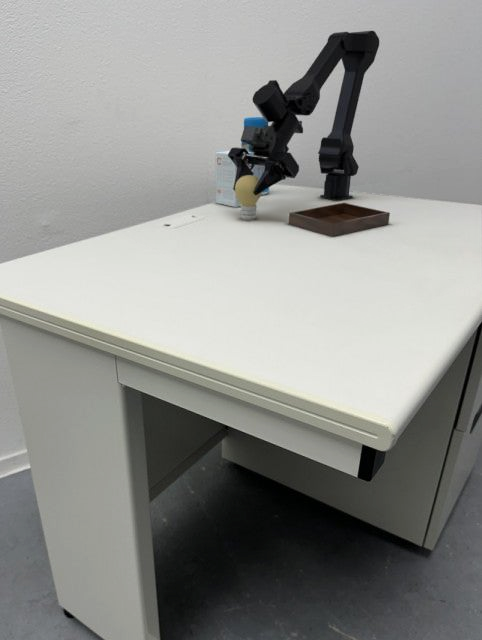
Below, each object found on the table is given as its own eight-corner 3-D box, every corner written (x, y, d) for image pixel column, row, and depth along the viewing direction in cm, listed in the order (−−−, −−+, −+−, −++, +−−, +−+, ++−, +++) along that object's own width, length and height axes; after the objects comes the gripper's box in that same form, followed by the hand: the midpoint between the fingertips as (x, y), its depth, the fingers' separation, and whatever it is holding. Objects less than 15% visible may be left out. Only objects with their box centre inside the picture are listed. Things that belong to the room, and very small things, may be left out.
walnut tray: (342, 213, 133) (343, 202, 132) (388, 224, 123) (390, 212, 121) (288, 224, 126) (288, 212, 124) (332, 236, 115) (333, 224, 114)
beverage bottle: (261, 197, 154) (262, 119, 144) (235, 194, 158) (235, 118, 149) (274, 191, 160) (276, 116, 151) (249, 189, 164) (249, 116, 155)
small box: (252, 203, 146) (253, 151, 140) (235, 207, 143) (235, 154, 137) (232, 199, 152) (232, 149, 146) (215, 203, 148) (214, 152, 142)
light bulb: (232, 216, 133) (232, 174, 129) (258, 214, 134) (258, 172, 129) (238, 223, 128) (238, 178, 123) (264, 220, 129) (265, 176, 124)
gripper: (233, 110, 128) (199, 166, 128) (293, 112, 116) (255, 174, 115) (256, 142, 136) (224, 195, 136) (314, 148, 124) (279, 205, 123)
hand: (244, 192), depth 127 cm, fingers closed on light bulb, 6 cm apart
